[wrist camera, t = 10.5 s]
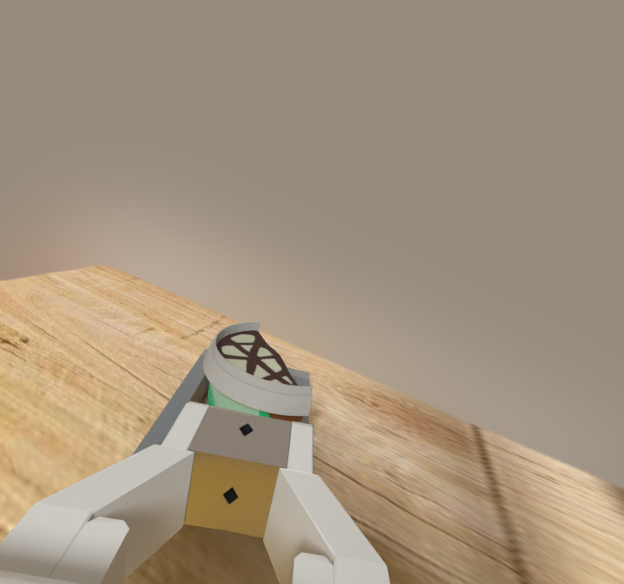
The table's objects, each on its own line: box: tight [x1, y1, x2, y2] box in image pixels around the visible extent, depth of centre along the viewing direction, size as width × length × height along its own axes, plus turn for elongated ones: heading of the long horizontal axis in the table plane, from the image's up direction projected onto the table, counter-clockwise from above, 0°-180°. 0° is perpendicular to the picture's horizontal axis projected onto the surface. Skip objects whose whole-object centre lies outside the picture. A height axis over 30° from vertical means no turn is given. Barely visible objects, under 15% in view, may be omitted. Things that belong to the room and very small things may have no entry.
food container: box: [203, 322, 312, 423], centre depth 31 cm, size 12×6×10 cm, turn 25°
